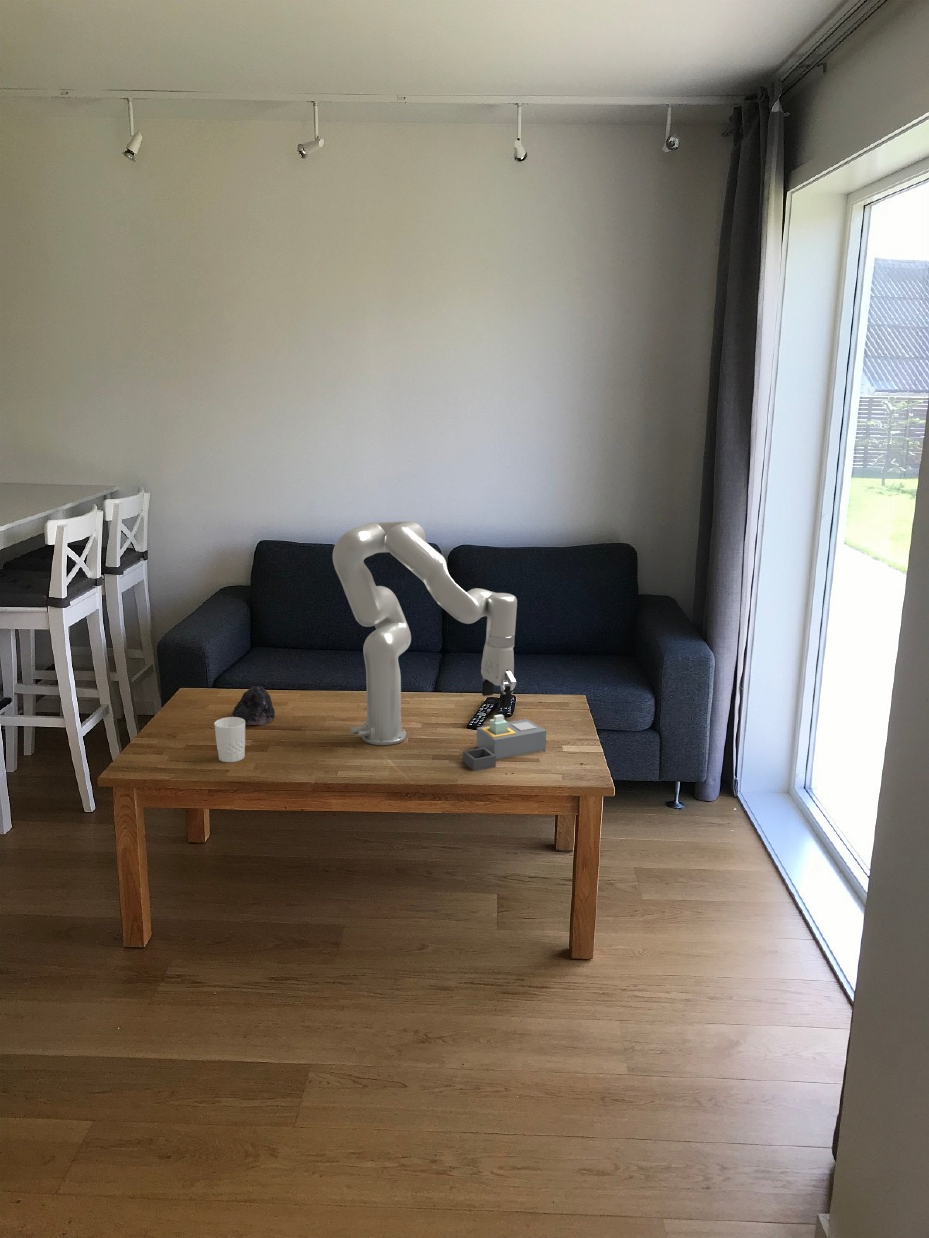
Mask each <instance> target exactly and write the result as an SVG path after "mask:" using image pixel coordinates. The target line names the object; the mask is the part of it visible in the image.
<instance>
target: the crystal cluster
mask: <svg viewBox="0 0 929 1238" xmlns="http://www.w3.org/2000/svg"><path fill="white" fill-rule="evenodd" d="M275 713H276V711H275V708H274V706H273V701H272V698H271V695H270V694H269V692H268V691H267V690H266V689H265V688H264V687H263V686H262V685H261V686H255V685H254V686H251V687H250V688H249V689H248V690H247V691H245V692H244V693H243V694H242V695H241V699H240V700H239V701H238V703H237V704H236V705H235V706H234V708H233V711H232V713H231V714H232V717H238V718H242V719H244V720H245V725H247V726H256V725H258V726H263V725H267V724H270V723H272V721H274V719H275V716H276V715H275Z"/></svg>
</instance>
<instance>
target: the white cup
mask: <svg viewBox="0 0 929 1238" xmlns="http://www.w3.org/2000/svg"><path fill="white" fill-rule="evenodd" d="M213 725H214V733H215V741H216V748H217V755H218V760H219V761H221V762H222V763H223V762H224V763H234V762H235V763H236V762H240V761H241V760H244V759H245V756H246V754H245V753H246V751H245V749H246V724H245V720H244V719H242V718H238V717H233V716H228V717H222V718H219V719H217V720H216V721H214V723H213Z"/></svg>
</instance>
